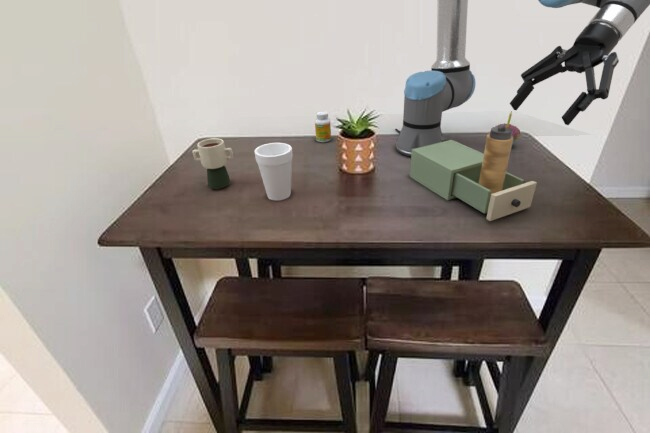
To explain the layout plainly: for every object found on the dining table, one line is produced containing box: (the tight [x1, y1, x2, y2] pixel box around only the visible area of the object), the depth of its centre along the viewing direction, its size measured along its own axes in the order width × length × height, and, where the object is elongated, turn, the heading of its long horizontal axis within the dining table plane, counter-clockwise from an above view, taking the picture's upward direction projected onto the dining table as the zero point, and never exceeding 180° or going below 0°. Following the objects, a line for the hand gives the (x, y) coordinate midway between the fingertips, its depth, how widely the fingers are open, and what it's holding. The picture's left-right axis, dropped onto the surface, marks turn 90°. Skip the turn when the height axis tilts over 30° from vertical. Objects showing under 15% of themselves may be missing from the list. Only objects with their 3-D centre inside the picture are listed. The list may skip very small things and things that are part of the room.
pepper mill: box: [478, 124, 514, 202], centre depth 88 cm, size 5×5×18 cm
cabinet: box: [409, 139, 484, 201], centre depth 102 cm, size 16×14×8 cm
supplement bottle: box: [314, 110, 332, 143], centre depth 134 cm, size 5×5×10 cm
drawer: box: [451, 165, 538, 222], centre depth 91 cm, size 16×13×6 cm
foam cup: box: [254, 142, 294, 201], centre depth 99 cm, size 10×9×13 cm
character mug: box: [192, 137, 234, 190], centre depth 106 cm, size 11×7×13 cm, turn 91°
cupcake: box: [494, 111, 521, 145], centre depth 121 cm, size 9×8×12 cm
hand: (537, 113), depth 86 cm, fingers open, 13 cm apart
